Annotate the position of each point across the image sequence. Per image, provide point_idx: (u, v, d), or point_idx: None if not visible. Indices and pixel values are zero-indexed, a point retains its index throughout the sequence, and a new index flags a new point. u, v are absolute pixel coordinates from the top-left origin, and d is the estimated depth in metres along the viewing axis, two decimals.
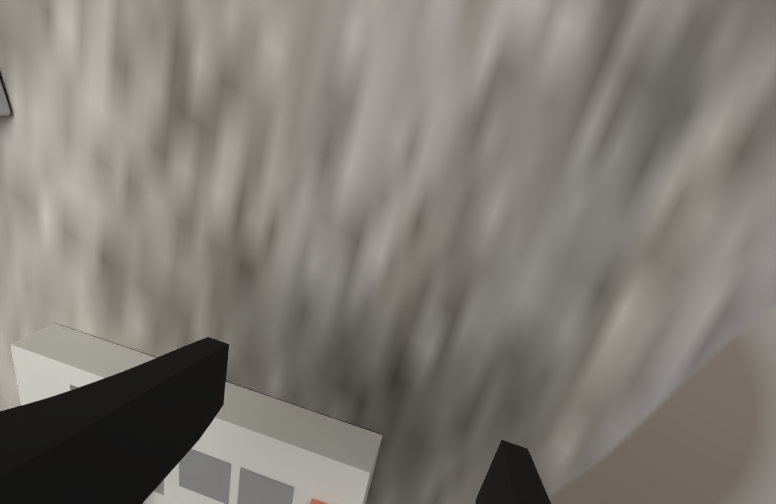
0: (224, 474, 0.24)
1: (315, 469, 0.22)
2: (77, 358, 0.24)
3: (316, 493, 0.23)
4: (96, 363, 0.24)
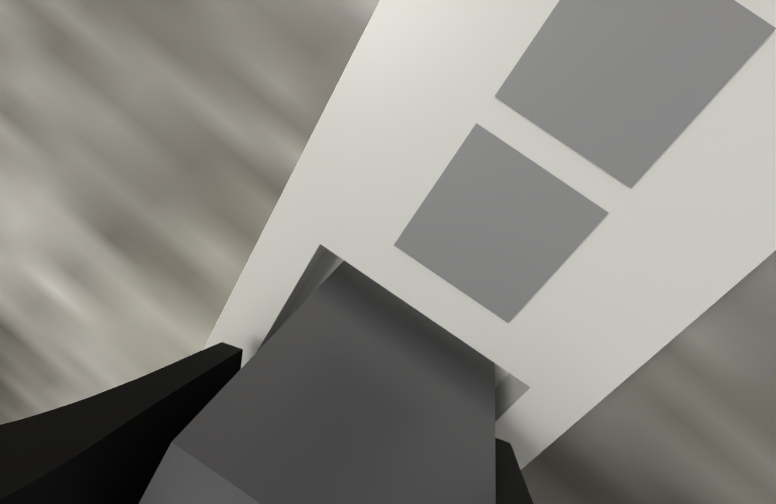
0: (503, 161, 0.09)
1: None
2: None
3: None
4: None
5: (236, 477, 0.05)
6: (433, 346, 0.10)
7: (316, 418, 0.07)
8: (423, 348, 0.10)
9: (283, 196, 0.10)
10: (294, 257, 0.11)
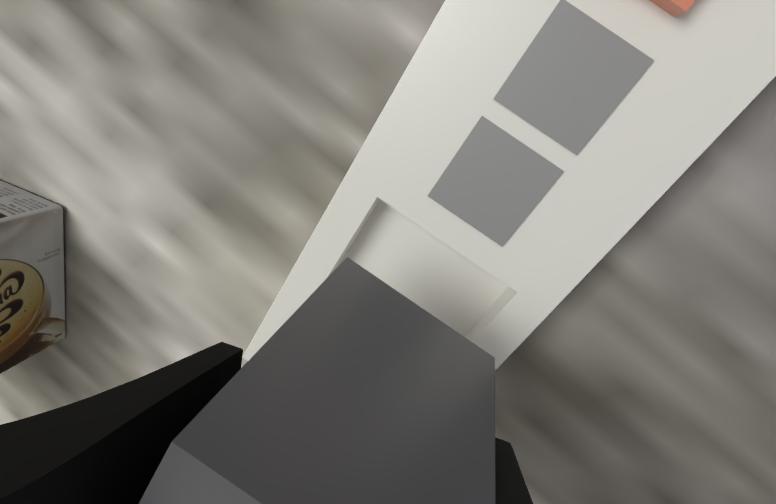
0: (498, 139, 0.14)
1: None
2: None
3: None
4: None
5: (236, 477, 0.05)
6: (433, 346, 0.10)
7: (316, 418, 0.07)
8: (423, 348, 0.10)
9: (353, 165, 0.15)
10: (358, 206, 0.16)
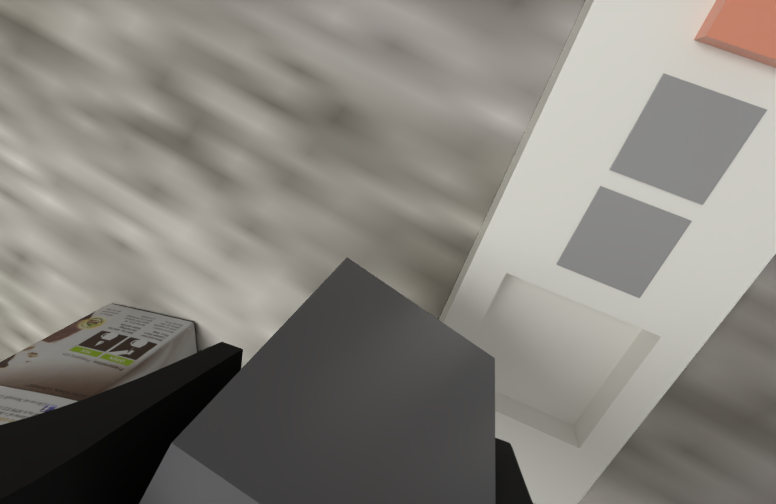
0: (620, 204, 0.15)
1: (624, 21, 0.13)
2: None
3: (682, 28, 0.13)
4: None
5: (236, 477, 0.05)
6: (433, 347, 0.10)
7: (317, 419, 0.07)
8: (423, 349, 0.10)
9: (479, 248, 0.16)
10: (489, 284, 0.17)
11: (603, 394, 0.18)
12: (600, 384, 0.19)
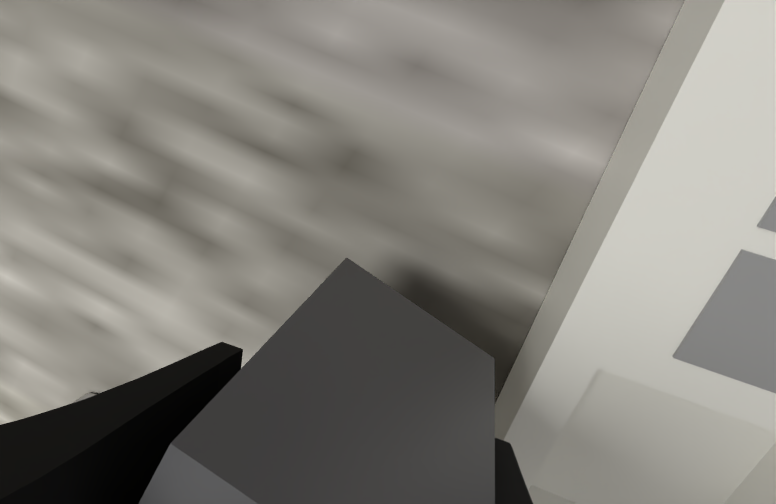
0: (775, 274, 0.10)
1: None
2: None
3: None
4: None
5: (235, 479, 0.05)
6: (433, 347, 0.10)
7: (316, 419, 0.07)
8: (423, 349, 0.10)
9: (557, 337, 0.12)
10: (573, 383, 0.12)
11: None
12: (725, 496, 0.14)
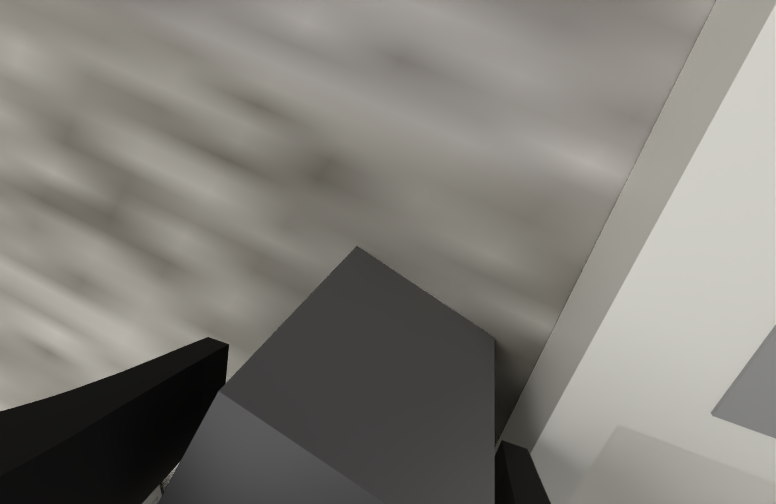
0: None
1: None
2: None
3: None
4: None
5: (273, 421, 0.06)
6: (437, 325, 0.11)
7: (337, 379, 0.08)
8: (428, 326, 0.11)
9: (569, 386, 0.10)
10: (587, 440, 0.10)
11: None
12: None
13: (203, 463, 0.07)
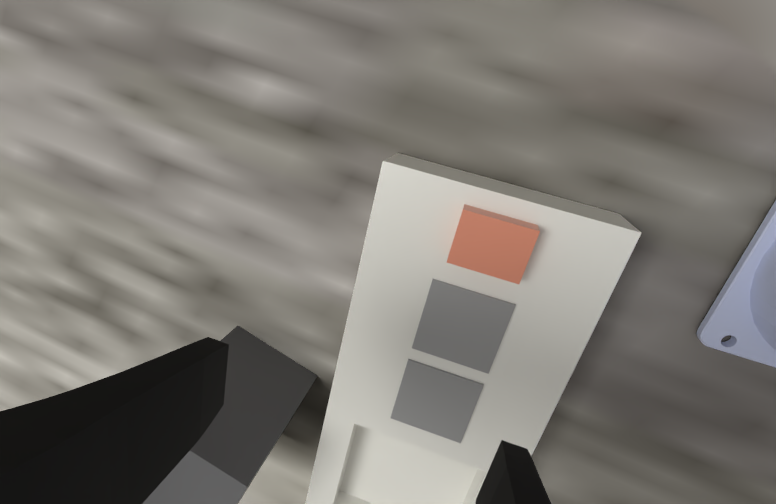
0: (426, 373, 0.17)
1: (394, 241, 0.16)
2: None
3: (438, 247, 0.16)
4: None
5: None
6: (275, 372, 0.21)
7: None
8: (268, 373, 0.21)
9: (328, 405, 0.19)
10: (343, 432, 0.20)
11: None
12: (462, 499, 0.21)
13: None
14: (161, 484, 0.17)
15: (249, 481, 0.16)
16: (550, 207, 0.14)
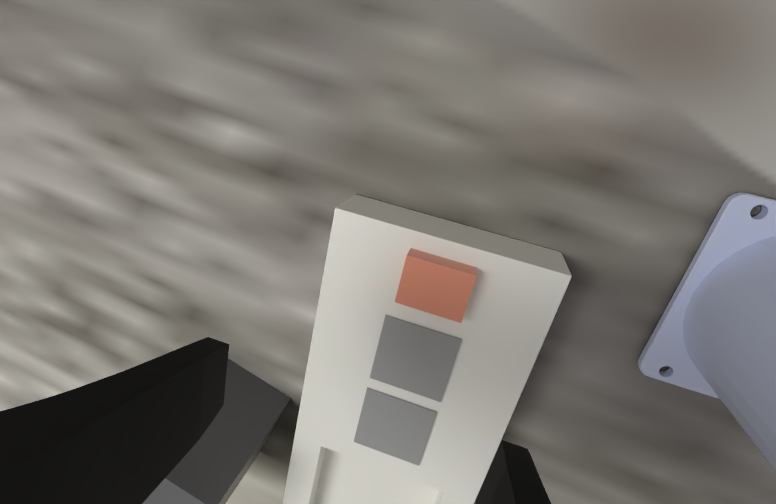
0: (384, 400, 0.19)
1: (349, 281, 0.17)
2: None
3: (389, 286, 0.17)
4: None
5: None
6: (249, 396, 0.22)
7: None
8: (242, 397, 0.22)
9: (297, 428, 0.20)
10: (311, 454, 0.21)
11: None
12: None
13: None
14: None
15: None
16: (488, 252, 0.15)
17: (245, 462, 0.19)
